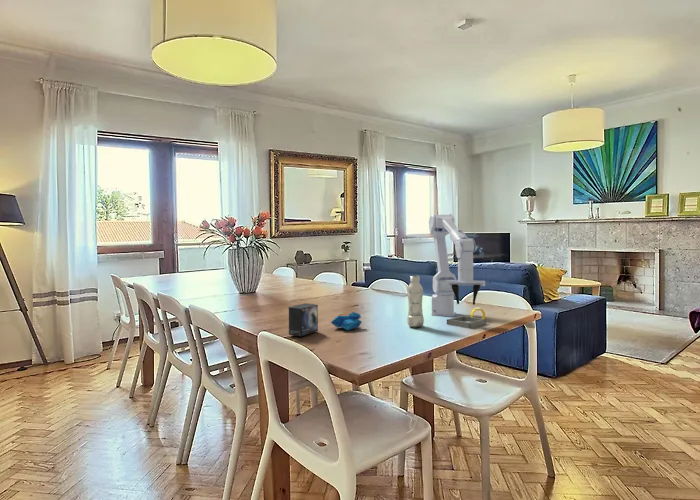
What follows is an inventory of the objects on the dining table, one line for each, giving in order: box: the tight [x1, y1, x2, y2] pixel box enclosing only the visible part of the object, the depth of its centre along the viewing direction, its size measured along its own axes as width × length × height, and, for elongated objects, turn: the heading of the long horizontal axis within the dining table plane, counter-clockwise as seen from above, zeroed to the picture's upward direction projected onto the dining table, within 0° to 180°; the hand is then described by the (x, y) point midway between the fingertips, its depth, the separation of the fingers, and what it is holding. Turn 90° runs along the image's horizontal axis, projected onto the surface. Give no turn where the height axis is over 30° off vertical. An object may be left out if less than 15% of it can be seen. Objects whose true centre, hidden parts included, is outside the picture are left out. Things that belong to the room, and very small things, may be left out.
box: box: [446, 315, 487, 330], centre depth 171 cm, size 11×11×2 cm
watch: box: [470, 306, 486, 319], centre depth 177 cm, size 6×3×6 cm, turn 104°
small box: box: [288, 303, 319, 337], centre depth 164 cm, size 11×6×10 cm, turn 148°
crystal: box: [330, 311, 362, 331], centre depth 170 cm, size 7×9×12 cm
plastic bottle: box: [406, 275, 425, 328], centre depth 170 cm, size 6×7×20 cm
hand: (466, 304), depth 171 cm, fingers open, 5 cm apart
